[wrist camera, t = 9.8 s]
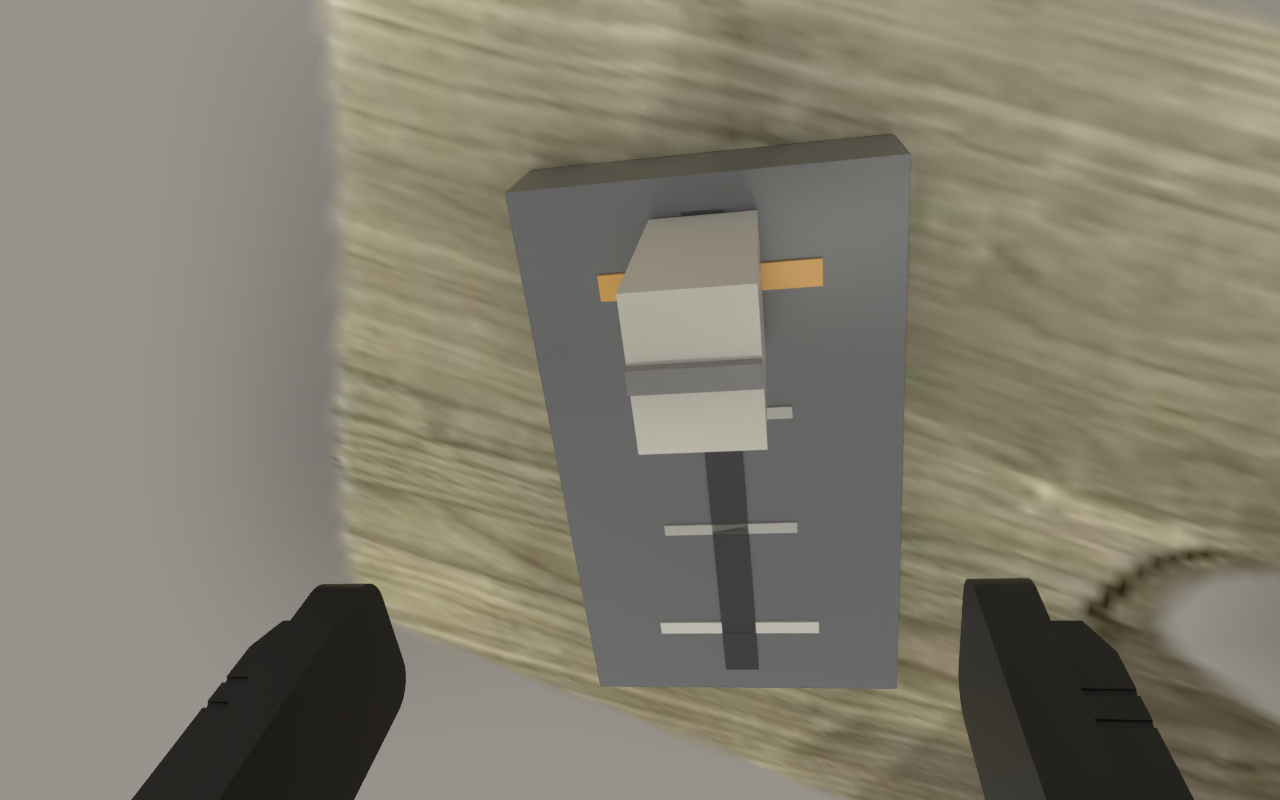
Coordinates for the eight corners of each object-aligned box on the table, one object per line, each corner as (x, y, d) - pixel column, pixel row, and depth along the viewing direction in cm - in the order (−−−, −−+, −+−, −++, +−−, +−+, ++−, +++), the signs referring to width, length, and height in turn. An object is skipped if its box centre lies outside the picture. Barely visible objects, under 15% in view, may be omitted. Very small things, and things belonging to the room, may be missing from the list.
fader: (757, 209, 22) (758, 288, 17) (765, 345, 24) (767, 456, 19) (648, 219, 23) (613, 299, 17) (664, 351, 25) (636, 461, 19)
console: (893, 133, 24) (911, 154, 21) (885, 630, 32) (897, 691, 30) (530, 170, 26) (503, 193, 23) (612, 631, 34) (599, 688, 32)
